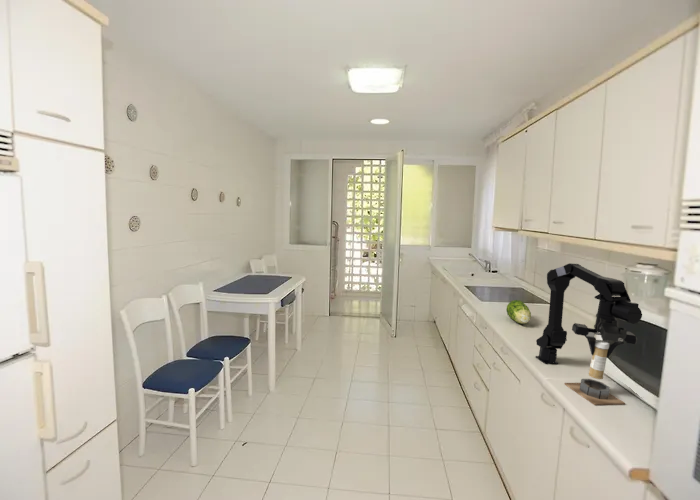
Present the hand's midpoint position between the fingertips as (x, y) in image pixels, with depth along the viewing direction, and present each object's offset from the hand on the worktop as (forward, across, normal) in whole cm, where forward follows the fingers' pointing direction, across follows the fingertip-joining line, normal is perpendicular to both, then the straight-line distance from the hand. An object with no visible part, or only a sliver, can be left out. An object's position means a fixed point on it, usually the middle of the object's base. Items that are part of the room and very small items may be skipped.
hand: (599, 355), depth 134 cm
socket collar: (+13, -1, -3) cm, 14 cm away
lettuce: (+13, -19, +74) cm, 77 cm away
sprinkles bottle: (+8, 0, 0) cm, 8 cm away
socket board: (+13, -1, -3) cm, 14 cm away
